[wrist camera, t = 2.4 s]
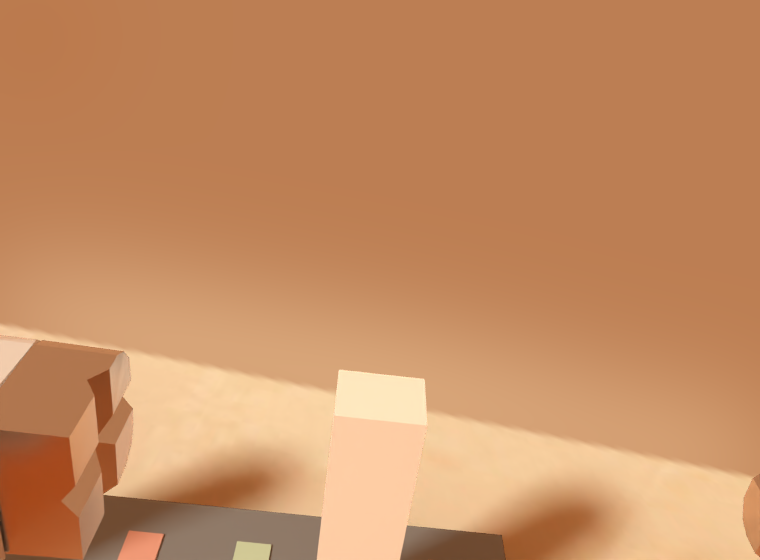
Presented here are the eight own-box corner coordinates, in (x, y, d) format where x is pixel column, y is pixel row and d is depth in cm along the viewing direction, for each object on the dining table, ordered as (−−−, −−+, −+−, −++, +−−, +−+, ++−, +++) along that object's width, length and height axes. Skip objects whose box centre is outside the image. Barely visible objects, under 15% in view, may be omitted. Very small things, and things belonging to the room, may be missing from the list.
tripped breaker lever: (387, 590, 32) (432, 366, 26) (386, 678, 29) (437, 444, 22) (307, 582, 32) (332, 355, 26) (296, 669, 29) (322, 431, 22)
